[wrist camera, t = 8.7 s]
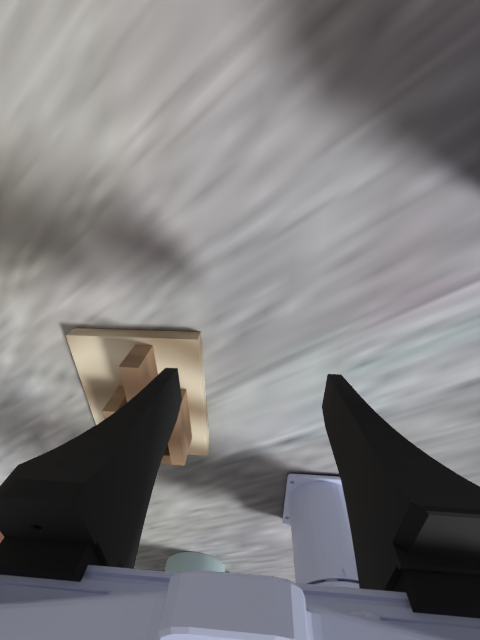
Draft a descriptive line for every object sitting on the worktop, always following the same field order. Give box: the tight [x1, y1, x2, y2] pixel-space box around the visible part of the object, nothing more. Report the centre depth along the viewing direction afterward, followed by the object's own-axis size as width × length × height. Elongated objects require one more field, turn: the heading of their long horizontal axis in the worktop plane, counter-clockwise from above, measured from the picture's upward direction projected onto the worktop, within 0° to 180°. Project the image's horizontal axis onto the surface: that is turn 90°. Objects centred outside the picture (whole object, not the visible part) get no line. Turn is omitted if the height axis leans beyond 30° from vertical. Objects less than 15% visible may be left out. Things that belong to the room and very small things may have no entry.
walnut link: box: [102, 345, 192, 465], centre depth 24 cm, size 11×6×3 cm, turn 0°
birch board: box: [66, 328, 210, 456], centre depth 26 cm, size 14×11×1 cm
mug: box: [164, 552, 225, 573], centre depth 39 cm, size 14×9×10 cm
